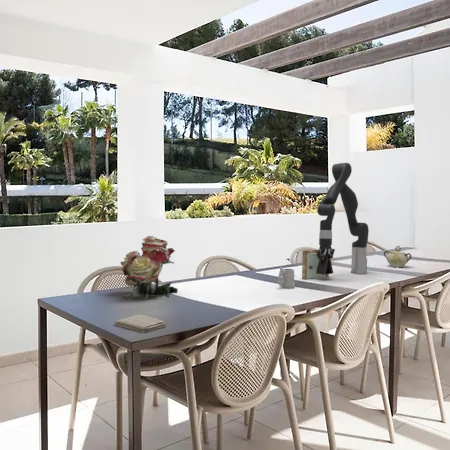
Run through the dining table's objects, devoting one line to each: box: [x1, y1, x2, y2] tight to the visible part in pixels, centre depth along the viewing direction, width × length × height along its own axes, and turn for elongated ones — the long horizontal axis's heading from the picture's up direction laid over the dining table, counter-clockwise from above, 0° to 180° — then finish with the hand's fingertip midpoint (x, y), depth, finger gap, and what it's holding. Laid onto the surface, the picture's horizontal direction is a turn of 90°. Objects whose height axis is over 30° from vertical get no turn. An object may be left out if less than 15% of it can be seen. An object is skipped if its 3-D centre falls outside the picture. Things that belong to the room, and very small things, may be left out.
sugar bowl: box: [383, 245, 412, 268], centre depth 356 cm, size 20×15×15 cm
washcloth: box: [114, 314, 167, 334], centre depth 193 cm, size 12×18×3 cm, turn 52°
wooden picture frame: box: [301, 248, 330, 280], centre depth 306 cm, size 20×2×18 cm, turn 121°
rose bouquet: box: [120, 235, 178, 301], centre depth 249 cm, size 26×29×30 cm
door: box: [306, 253, 327, 280], centre depth 305 cm, size 15×3×15 cm, turn 121°
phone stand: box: [316, 254, 334, 275], centre depth 300 cm, size 9×6×12 cm, turn 128°
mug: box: [277, 266, 296, 289], centre depth 274 cm, size 8×12×12 cm, turn 133°
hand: (324, 265), depth 300 cm, fingers closed on phone stand, 3 cm apart
